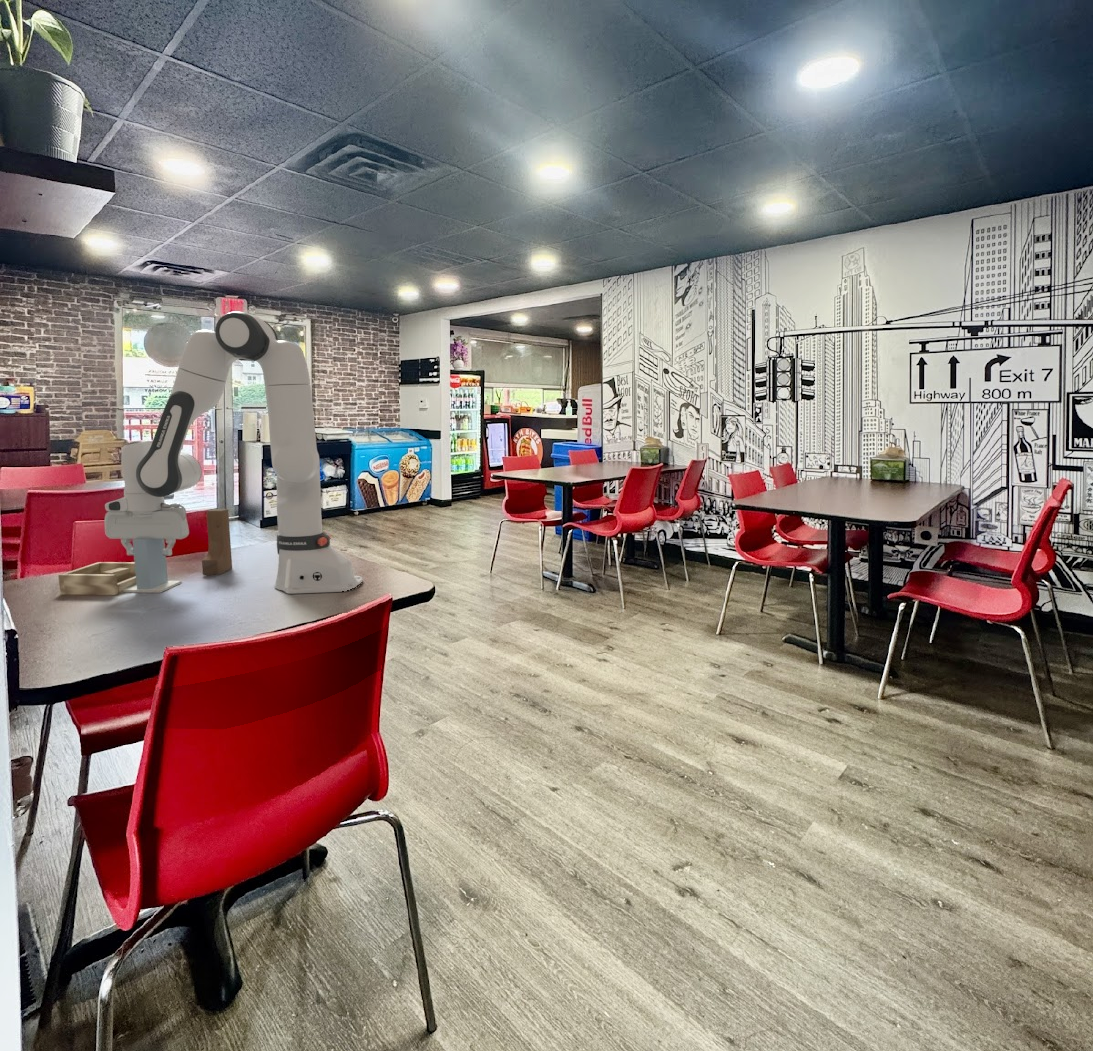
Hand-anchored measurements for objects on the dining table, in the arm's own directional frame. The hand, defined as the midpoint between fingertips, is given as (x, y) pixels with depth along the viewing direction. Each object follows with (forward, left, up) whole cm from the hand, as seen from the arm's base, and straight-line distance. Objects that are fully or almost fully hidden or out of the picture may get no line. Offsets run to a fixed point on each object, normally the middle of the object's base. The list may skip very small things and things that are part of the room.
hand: (149, 555), depth 176 cm
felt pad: (0, 0, -9) cm, 9 cm away
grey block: (0, 0, -8) cm, 8 cm away
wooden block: (-8, -18, -9) cm, 22 cm away
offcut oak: (+9, 0, -7) cm, 11 cm away
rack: (+12, 0, -9) cm, 14 cm away
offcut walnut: (+9, 0, -9) cm, 13 cm away
